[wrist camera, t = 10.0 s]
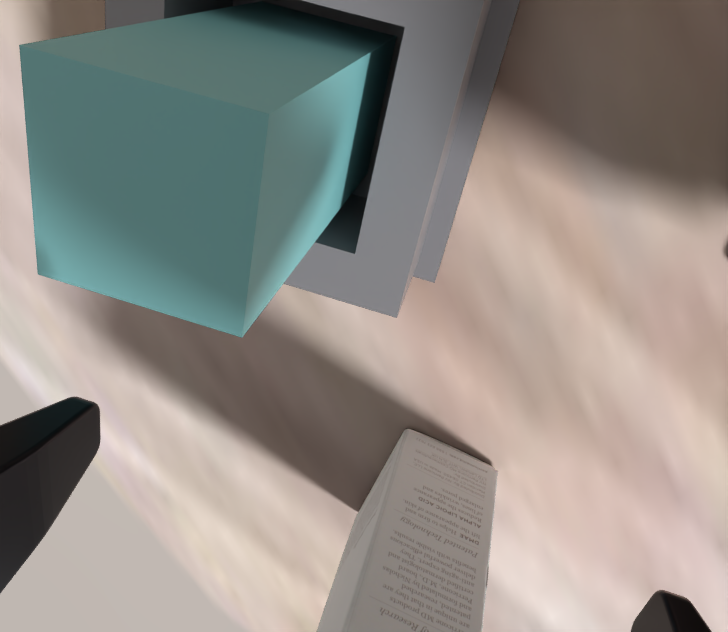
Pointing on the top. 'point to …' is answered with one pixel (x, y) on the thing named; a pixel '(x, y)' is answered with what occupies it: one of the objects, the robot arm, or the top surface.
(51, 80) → the teal peg
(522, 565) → the top surface
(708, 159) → the top surface
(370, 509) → the skincare box
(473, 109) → the socket block
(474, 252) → the top surface
